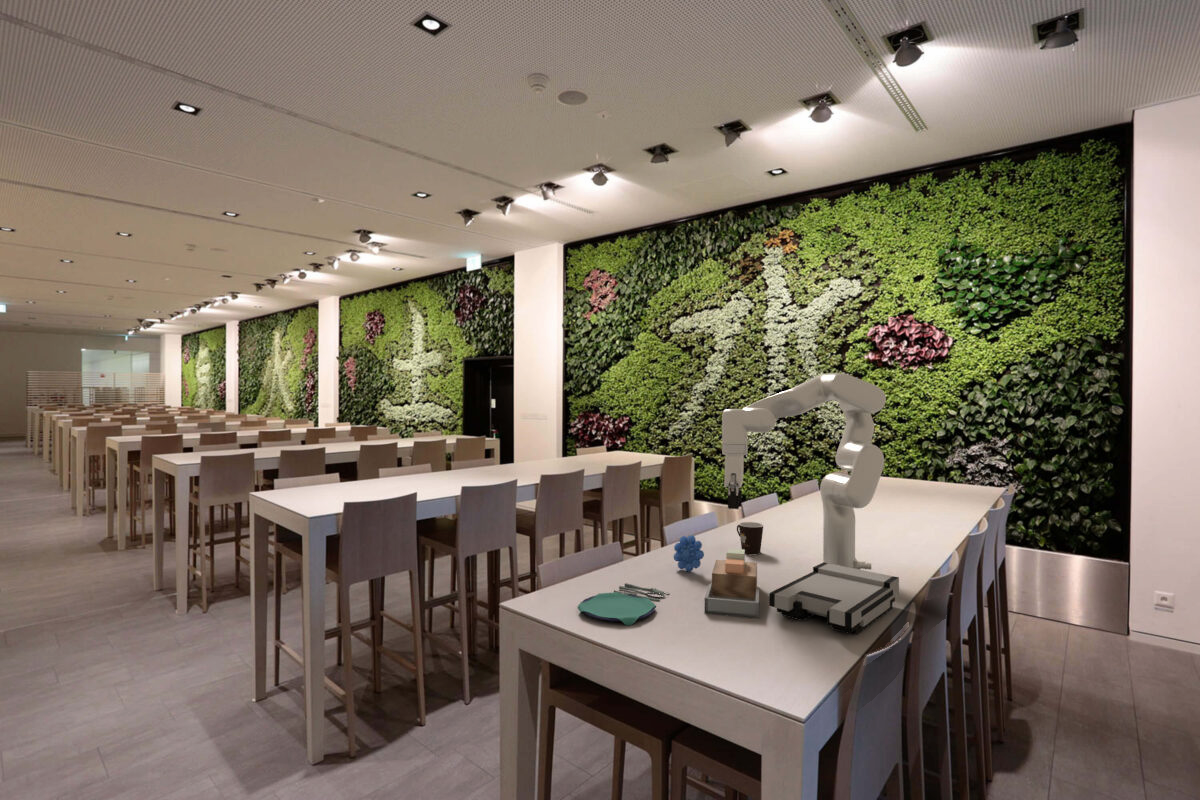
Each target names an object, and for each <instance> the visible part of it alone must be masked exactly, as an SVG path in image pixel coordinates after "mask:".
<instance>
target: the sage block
mask: <svg viewBox="0 0 1200 800" xmlns="http://www.w3.org/2000/svg"><path fill="white" fill-rule="evenodd" d="M725 555H726V558H725V560H726V559H740V560H744V565H745V562H746V554H745V550H743V549H742V548H741V549H739V548H727V549H726V554H725Z"/></svg>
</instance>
